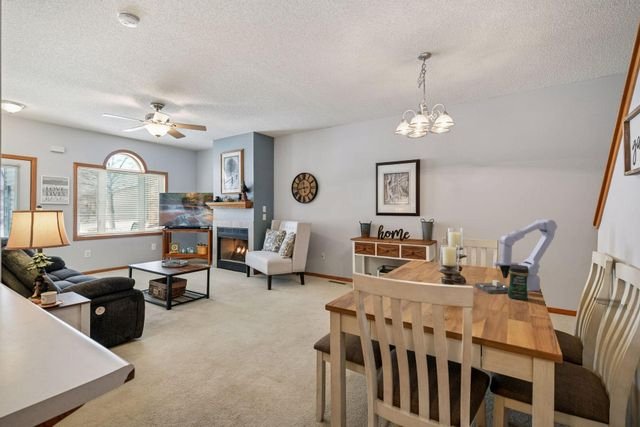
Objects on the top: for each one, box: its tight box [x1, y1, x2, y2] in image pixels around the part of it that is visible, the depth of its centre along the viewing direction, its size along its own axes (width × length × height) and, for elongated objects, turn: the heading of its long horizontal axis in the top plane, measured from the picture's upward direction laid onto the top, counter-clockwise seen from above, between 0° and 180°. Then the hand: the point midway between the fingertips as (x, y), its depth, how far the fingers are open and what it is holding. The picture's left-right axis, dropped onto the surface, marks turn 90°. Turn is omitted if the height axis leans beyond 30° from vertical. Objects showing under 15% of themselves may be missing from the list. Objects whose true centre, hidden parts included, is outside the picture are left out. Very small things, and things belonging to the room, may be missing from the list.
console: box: [474, 282, 509, 294], centre depth 203 cm, size 16×14×3 cm
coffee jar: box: [507, 264, 529, 300], centre depth 187 cm, size 10×8×19 cm
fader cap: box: [491, 279, 501, 287], centre depth 203 cm, size 2×4×3 cm, turn 5°
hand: (505, 277), depth 203 cm, fingers closed
